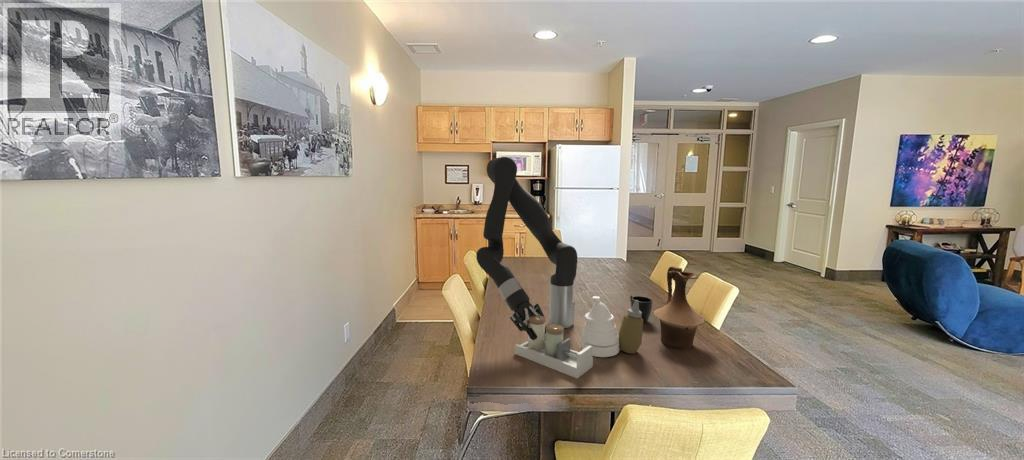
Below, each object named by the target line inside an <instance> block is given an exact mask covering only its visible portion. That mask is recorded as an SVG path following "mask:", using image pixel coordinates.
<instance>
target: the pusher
mask: <svg viewBox="0 0 1024 460" xmlns="http://www.w3.org/2000/svg"><path fill="white" fill-rule="evenodd" d="M571 342H572V341H571V338H569V337H568V338H566V339H565V340H563V342H561V343H560V344H558V345H557V354H556V359H559V360H561V361H564V360H565V359H567V358H568V357H569V356H570V357H573V358H575V357H576V355H575V354H572V353H570V349H571Z"/></svg>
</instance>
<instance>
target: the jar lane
mask: <svg viewBox="0 0 1024 460" xmlns="http://www.w3.org/2000/svg"><path fill="white" fill-rule="evenodd" d="M545 347H546V339H545V340H544V349H542V350H532V349H529V348H528V340H527V341H525V342H523V343H521V344H518V343H515V345H514V354H515V355H516V356H520V357H521V358H525V359H526V360H530V361H532V362H535V363H537V364H540V365H542V366H545V367H547V368H550V369H552V370H554V371H558V372H560V373H562V374H565V375H568V376H570V377H572V378H575V379H579V378H580V377H582V376H583V375H584V374H586V372H588V371H590V369H592V368H594V367H593V366H594V356H592V346H590V345H589V346H588V347H586V348H585V349H583V350H582V349H581V350H580V351H577V350H574V349H571V348H570V353H572V354H575V355H576V357H575V358H573V357H570V356H569V357H568V358H567V359H565V360H564V361H561V360H559V359H556V358H553V357H551V356H548V355H545Z"/></svg>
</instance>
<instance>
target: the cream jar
mask: <svg viewBox="0 0 1024 460" xmlns="http://www.w3.org/2000/svg"><path fill="white" fill-rule="evenodd" d="M529 318H530V319H529V323H530V326H531V328H532V329H533V330H534V332H535V333H536V335H537V338H536V339H535V340H532V339H531V338H530V337H529V335H528V334H527V341H528V348H529V349H532V350H542V349H544V340H545V341H546V334H545V326H546V320H547V319H546V316H545V317H543V316H540V315H537V316H536V315H533V316H531V317H529Z"/></svg>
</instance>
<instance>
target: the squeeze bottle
mask: <svg viewBox="0 0 1024 460" xmlns="http://www.w3.org/2000/svg"><path fill="white" fill-rule="evenodd" d="M641 315H642V312H641V311H640V310H639V301H638V300H635V302H634V304H633V306H632V308H631V307H630V308H628V309H627V312H626V314H624V315H623V317H622V322H621V325H620V328H619V331H618V333H619V351H622V352H624V353H626V354H632V355H633V354H636V353H637V352H638V350H639V348H640V346H641V345H642V341H643V330H644V323H643V319H642V318H641Z"/></svg>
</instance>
